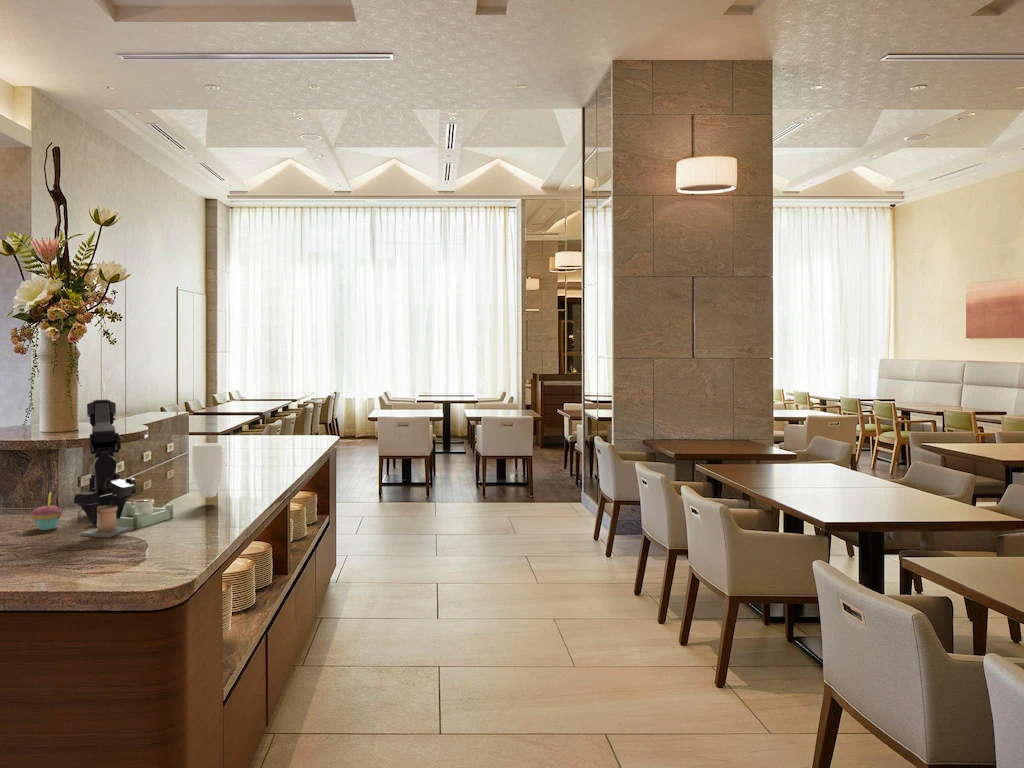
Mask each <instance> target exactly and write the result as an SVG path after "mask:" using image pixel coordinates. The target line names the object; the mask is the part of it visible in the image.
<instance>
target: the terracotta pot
mask: <svg viewBox="0 0 1024 768" xmlns="http://www.w3.org/2000/svg"><path fill="white" fill-rule="evenodd" d="M117 510H118V506H116V505H106V506H99V507H98V508H97V531H98V532H109V531H114V530H116V529H117V522H116V511H117Z"/></svg>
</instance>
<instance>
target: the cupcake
mask: <svg viewBox="0 0 1024 768" xmlns="http://www.w3.org/2000/svg"><path fill="white" fill-rule="evenodd" d="M47 498H48V501H47V505H43V506H39V507H36V508H35V509H33V510H32V511H31V513H30V516H29V517H30V518H31V520H33V521H35V524H36V526H37V528H38V530H39V531H40V530H41V531H43V530H44V531H46V530H47V531H48V530H49V531H50V530H54V529H56V528H57V527H58V523H59V521H60V518H61V516H63V510H62V509H61V508H59V506H56V505H51V501H52V491H51V490H50V491H49V493H48V497H47Z"/></svg>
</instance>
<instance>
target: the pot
mask: <svg viewBox="0 0 1024 768" xmlns="http://www.w3.org/2000/svg"><path fill="white" fill-rule="evenodd" d="M154 504H155V499H153V498H144V499H137V500H136V499H135V500H133V501H132V506H135V513H141V517H143V516H146V515H150V514H153V508H154Z"/></svg>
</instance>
